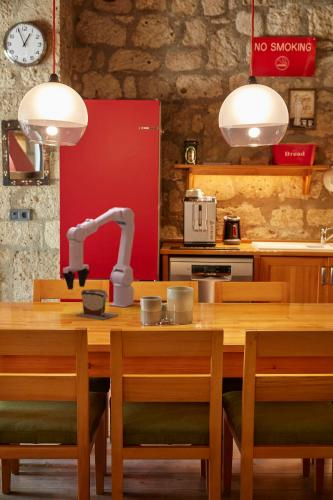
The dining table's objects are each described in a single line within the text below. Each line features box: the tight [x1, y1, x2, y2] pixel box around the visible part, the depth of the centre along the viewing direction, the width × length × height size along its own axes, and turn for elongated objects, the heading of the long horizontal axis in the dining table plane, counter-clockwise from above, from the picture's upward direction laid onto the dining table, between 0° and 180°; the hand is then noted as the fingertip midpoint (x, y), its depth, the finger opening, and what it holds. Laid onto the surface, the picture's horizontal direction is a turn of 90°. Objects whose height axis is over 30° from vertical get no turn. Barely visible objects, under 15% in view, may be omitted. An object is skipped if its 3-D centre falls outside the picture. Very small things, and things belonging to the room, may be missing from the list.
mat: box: [75, 312, 119, 321], centre depth 229 cm, size 10×14×1 cm
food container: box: [80, 288, 109, 317], centre depth 229 cm, size 12×6×10 cm, turn 60°
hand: (76, 288), depth 233 cm, fingers open, 7 cm apart
